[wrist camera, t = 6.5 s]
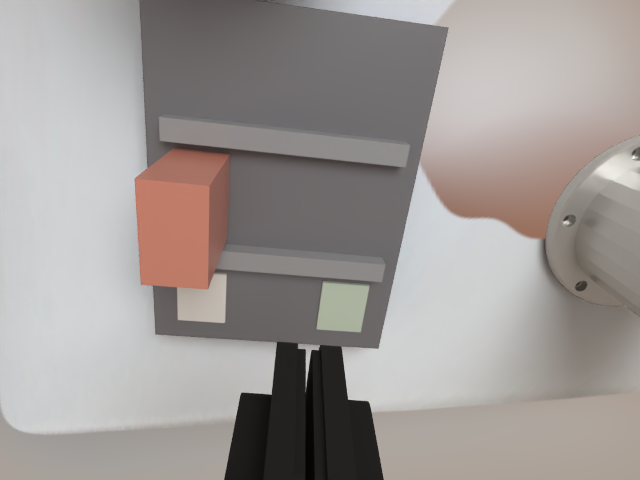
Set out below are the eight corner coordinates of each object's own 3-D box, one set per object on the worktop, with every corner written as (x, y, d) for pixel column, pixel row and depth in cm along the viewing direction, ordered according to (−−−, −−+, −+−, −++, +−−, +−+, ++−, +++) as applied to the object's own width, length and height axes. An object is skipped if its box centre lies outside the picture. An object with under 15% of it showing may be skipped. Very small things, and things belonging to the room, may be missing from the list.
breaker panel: (430, 30, 24) (455, 26, 20) (371, 323, 32) (381, 358, 28) (158, -9, 22) (131, -20, 18) (168, 308, 30) (150, 343, 27)
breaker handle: (230, 153, 23) (209, 186, 17) (227, 237, 25) (208, 289, 19) (173, 148, 22) (134, 178, 17) (175, 232, 24) (141, 284, 19)
